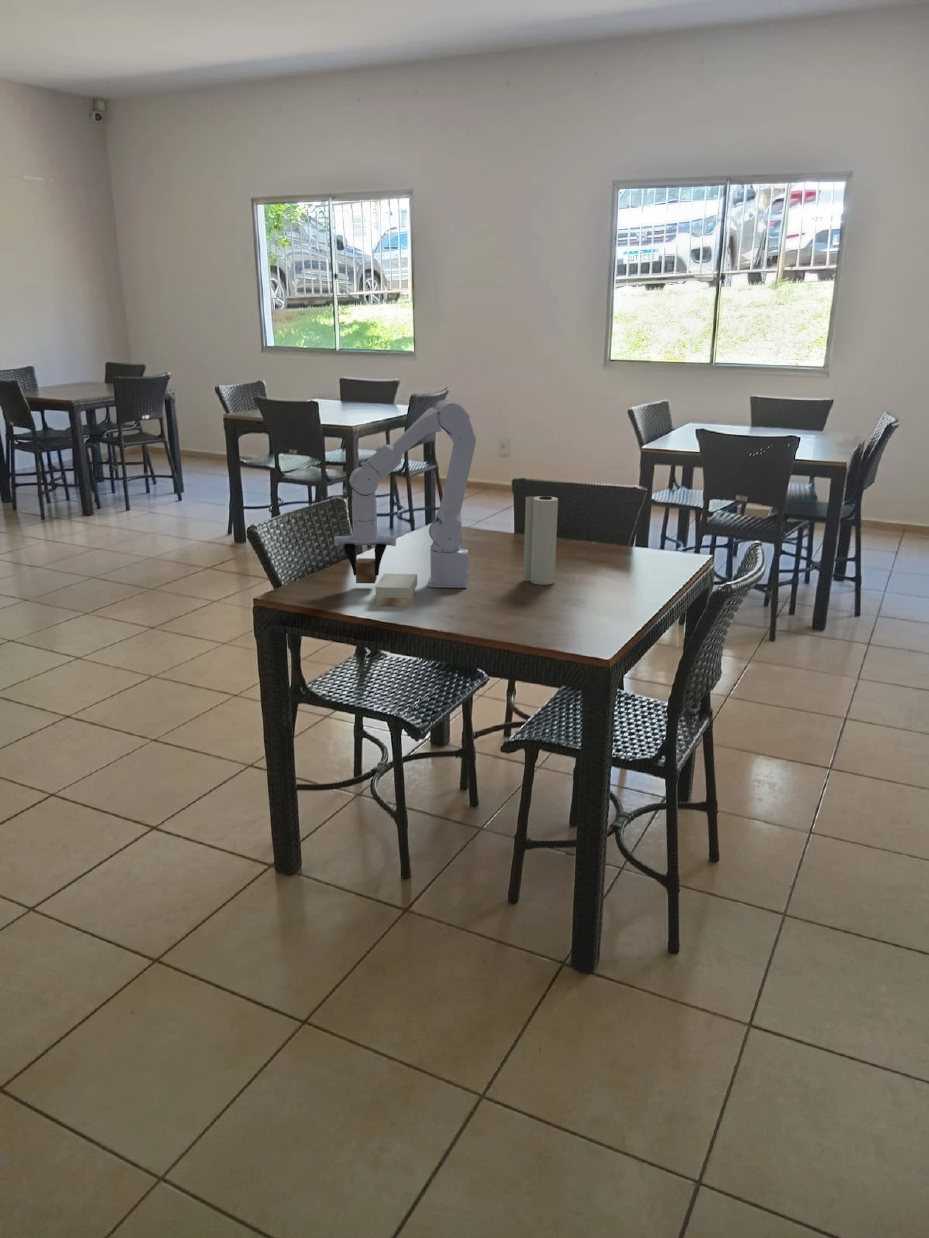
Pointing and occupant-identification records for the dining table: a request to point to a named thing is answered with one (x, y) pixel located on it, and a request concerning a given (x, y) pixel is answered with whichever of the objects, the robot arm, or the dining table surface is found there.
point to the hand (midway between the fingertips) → (366, 574)
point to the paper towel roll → (540, 539)
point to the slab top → (396, 586)
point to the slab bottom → (395, 601)
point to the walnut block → (365, 570)
